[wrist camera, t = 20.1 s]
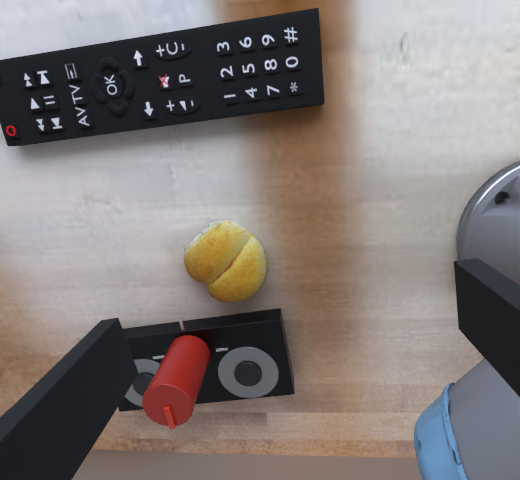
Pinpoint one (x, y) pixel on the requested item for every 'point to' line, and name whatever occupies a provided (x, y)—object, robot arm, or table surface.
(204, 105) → the remote control
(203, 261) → the bread roll
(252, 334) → the hob
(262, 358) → the burner rings
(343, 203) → the table surface
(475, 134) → the table surface
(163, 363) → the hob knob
